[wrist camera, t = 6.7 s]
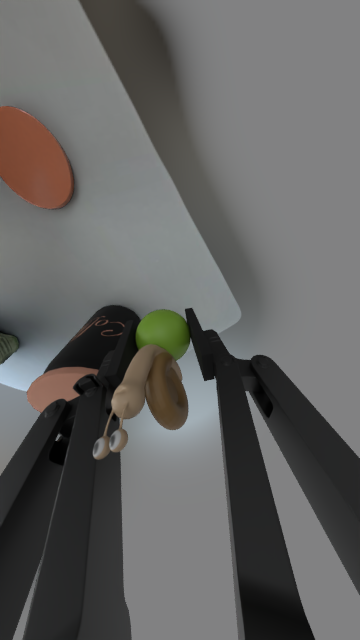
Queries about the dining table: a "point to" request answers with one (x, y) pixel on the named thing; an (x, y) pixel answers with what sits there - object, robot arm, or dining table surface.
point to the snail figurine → (151, 378)
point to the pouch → (7, 346)
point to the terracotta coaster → (33, 160)
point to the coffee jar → (80, 356)
